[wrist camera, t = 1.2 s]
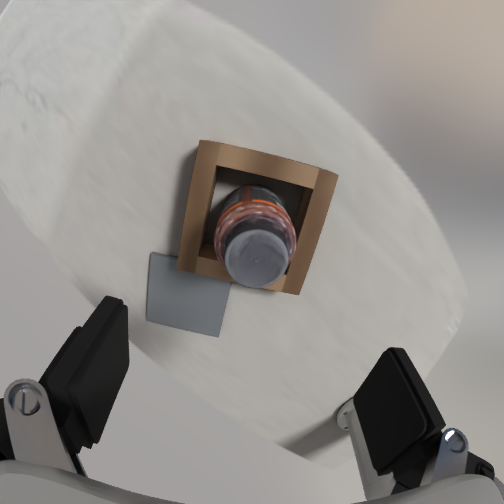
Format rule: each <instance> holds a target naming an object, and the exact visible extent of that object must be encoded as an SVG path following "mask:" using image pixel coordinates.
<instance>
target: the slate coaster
mask: <svg viewBox="0 0 504 504" xmlns="http://www.w3.org/2000/svg"><path fill="white" fill-rule="evenodd" d="M177 263H178V258H177V257H173V256H168V255H164V254H160V253H156V252H152V254H151V260H150V272H149V285H148V302H147V321H150V322H154V323H158V324H162V325H166V326H170V327H174V328H178V329H182V330H187V331H191V332H195V333H200V334H204V335H209V336H214V337H219V333H220V329H221V325H222V320H223V316H224V312H225V308H226V303H227V299H228V295H229V291H230V287H231V281H226V280H222V279H217V278H213V277H208V276H204V275H199V274H195V273H190V272H186V271H182V270H177Z"/></svg>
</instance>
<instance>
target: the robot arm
mask: <svg viewBox="0 0 504 504" xmlns="http://www.w3.org/2000/svg"><path fill="white" fill-rule="evenodd" d="M128 367H129V342H128V307H127V306H126V305H123V300H121V299H118V298H114V297H111V296H105V297H104V299H103V300H102V301H101V303H100V304H99V305H98V306H97V308H96V309H95V310H94V312H93V313H92V315H91V316H90V317H89V319H88V320H87V321H86V323H85V324H84V325H83V327H80V326H79V327H76V328H75V329H74V330H73V332H72V333H71V335H70V336H69V337H68V339H67V340H66V342H65V343H64V344H63V346H62V347H61V349H60V350H59V352H58V353H57V354H56V356H55V357H54V359H53V360H52V362H51V363H50V365H49V366H48V368H47V369H46V371H45V372H44V374H43V376H42V377H41V379H40V380H39V382H36V381H34V380H31V379H19V380H16V381H14V382H12V383H11V384H10V385H9V386H8V387H7V389H6V391H5V393H4V398H1V399H0V504H183V503H178V502H172V501H168V500H163V499H159V498H154V497H150V496H146V495H142V494H138V493H134V492H131V491H127V490H124V489H120V488H117V487H114V486H111V485H108V484H105V483H102V482H99V481H96V480H93V479H90V478H88V476H87V474H86V472H85V470H84V468H83V466H82V463H81V461H80V459H79V457H78V453H80V450H81V448H82V446H84V447H87V448H89V449H91V448H92V445H93V443H96V444H97V443H98V442H99V440H100V438H101V435H102V433H103V430H104V427H105V424H106V422H107V419H108V417H109V414H110V411H111V409H112V407H113V404H114V402H115V399H116V397H117V394H118V391H119V389H120V387H121V384H122V382H123V380H124V377H125V375H126V373H127V370H128ZM336 419H337V424H338V426H339V427H340V428H341V429H343V430H346V431H349V434H350V438H351V441H352V445H353V449H354V453H355V456H356V460H357V464H358V468H359V472H360V476H361V480H362V484H363V489H364V492H365V497H366V499H367V501H364V502H360V503H354V504H504V484H503V483H502V482H501V481H499V479H498V478H496V477H495V476H494V475H495V473H494V468H493V466H492V465H491V464H490V463H488V462H487V461H485V460H483V459H482V458H480V457H478V456H476V455H474V454H472V453H470V452H469V451H468V441H467V438H466V437H465V435H464V434H463V433H462V432H461V431H459V430H458V429H455V428H449V429H446V430H445V431H444V432H443V433H442V432H441V430H442V429H443V428H444V427H445V426H446V424H445V422H444V420H443V418H442V416H441V414H440V412H439V410H438V408H437V406H436V404H435V402H434V400H433V399H432V397H431V395H430V393H429V391H428V389H427V388H426V386H425V384H424V382H423V381H422V379H421V377H420V375H419V374H418V372H417V370H416V368H415V367H414V365H413V363H412V362H411V360H410V358H409V356H408V355H407V353H406V351H405V350H404V349H403V348H395V347H390V348H388V349H387V350H386V351H384V352H383V354H382V355H381V357H380V358H379V360H378V361H377V363H376V364H375V366H374V367H373V369H372V370H371V372H370V373H369V375H368V376H367V378H366V379H365V381H364V382H363V384H362V385H361V386H360V388H359V389H358V391H357V392H356V393H355V395H354V397H353V398H352V399H351V400H350V401H348V402H347V403H346V404H345V405H344V406H343V407H342V408H341V409H340V410H339V412H338V414H337V417H336Z"/></svg>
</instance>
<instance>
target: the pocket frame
mask: <svg viewBox="0 0 504 504" xmlns="http://www.w3.org/2000/svg"><path fill="white" fill-rule="evenodd" d="M219 166H223V167H228V168H232V169H237V170H241V171H245V172H250V173H254V174H258V175H262V176H266V177H270V178H274V179H278V180H282V181H286V182H290V183H294V184H297V185H301V186H305V188H304V191H303V195H302V198H301V202H300V205H299V208H298V212H297V215H296V219H295V222H294V225H293V226H294V229H295V233H296V250H295V253H294V256H293V258H292V260H291V262H290V263H289V265H288V266H287V269H286V271H285V273H284V274H283V276H282V277H281V278H280V279H279V280H278V281H276V282H275V283H273V284H272V285H270V286H266V287H263V288H264V289H269V290H274V291H279V292H284V293H289V294H295V295H299V294H300V291H301V288H302V285H303V283H304V280H305V277H306V274H307V272H308V269H309V266H310V263H311V260H312V257H313V254H314V251H315V248H316V246H317V243H318V240H319V237H320V234H321V231H322V227H323V224H324V221H325V218H326V215H327V212H328V209H329V206H330V202H331V199H332V196H333V193H334V189H335V186H336V183H337V179H338V176H339V175H337V174H335V173H333V172H331V171H328V170H325V169H322V168H318V167H315V166H312V165H308V164H305V163H301V162H298V161H294V160H291V159H287V158H283V157H279V156H275V155H272V154H268V153H264V152H259V151H255V150H251V149H247V148H242V147H238V146H233V145H229V144H224V143H219V142H214V141H209V140H200V141H199V146H198V150H197V155H196V160H195V164H194V169H193V174H192V179H191V184H190V190H189V195H188V200H187V206H186V211H185V217H184V223H183V229H182V236H181V242H180V249H179V255H178V263H177V270H182V271H186V272H190V273H195V274H199V275H204V276H208V277H213V278H217V279H222V280H226V281H231V282H236V281H235V280H233V279H232V277H231V276H230V275H229V273H228V272H227V270H226V269H225V268H224V267H223V266H222V265H221V264H220V262H219V260H218V258H217V256H216V253H215V249H214V245H211V244H207V243H204V238H205V233H206V228H207V223H208V218H209V213H210V208H211V203H212V198H213V194H214V189H215V184H216V180H217V175H218V171H219ZM236 283H237V282H236Z"/></svg>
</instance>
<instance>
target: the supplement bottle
mask: <svg viewBox="0 0 504 504" xmlns="http://www.w3.org/2000/svg"><path fill="white" fill-rule="evenodd" d="M214 249H215V253H216V256H217V258H218V260H219V262H220V264H221V265H222V266H223V267H224V268H225V269H226V270H227V272H228V273H229V275H230V276H231V277H232V279H233V280H235V281H236V282H237V283H239V284H241V285H243V286H245V287H249V288H263V287H266V286H270V285H272V284H273V283H275V282H276V281H278V280H279V279H280V278H281V277H282V276H283V274H284V273H285V271H286V269H287V266H288V265H289V263H290V262H291V260H292V258H293V256H294V253H295V250H296V233H295V229H294V226H293V224H292V222H291V219H290V217H289V216H288V214H287V212H286V210H285V208H284V206H283V204H282V202H281V200H280V199H279V197H278V196H277V195H276V194H275V193H274V192H273V191H272V190H270V189H268V188H267V187H264V186H262V185H255V184H251V185H245V186H241V187H239V188H237V189H236V190H235V191H233V192H232V193H231V194H230V195H229V197H228V198H227V200H226V201H225V203H224V205H223V208H222V212H221V214H220V218H219V221H218V224H217V227H216V230H215V235H214Z"/></svg>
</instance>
